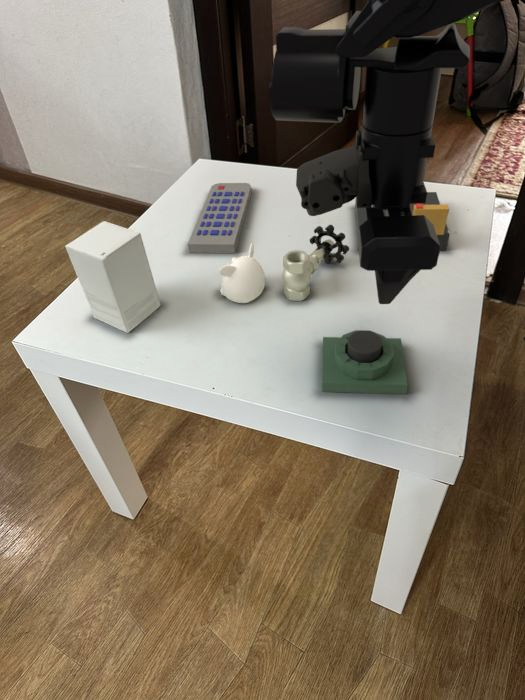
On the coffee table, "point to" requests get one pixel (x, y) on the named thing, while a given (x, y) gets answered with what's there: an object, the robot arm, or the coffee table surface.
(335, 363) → the button box
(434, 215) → the tap handle
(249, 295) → the figurine
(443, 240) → the panel
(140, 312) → the white packaging box
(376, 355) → the button
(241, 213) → the remote control
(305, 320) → the coffee table surface
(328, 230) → the valve
